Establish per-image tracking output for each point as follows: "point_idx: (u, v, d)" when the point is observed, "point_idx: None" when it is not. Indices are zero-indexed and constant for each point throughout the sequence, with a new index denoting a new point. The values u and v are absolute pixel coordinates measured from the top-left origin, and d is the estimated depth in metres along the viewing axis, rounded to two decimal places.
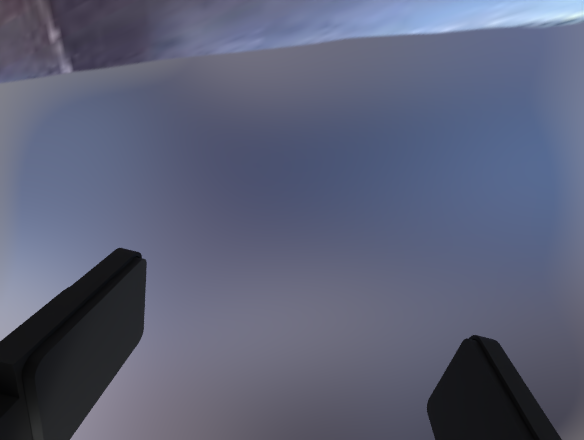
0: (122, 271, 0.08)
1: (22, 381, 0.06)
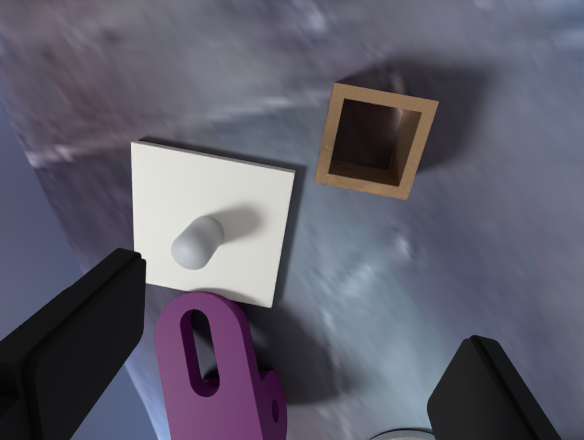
0: (122, 271, 0.08)
1: (22, 381, 0.06)
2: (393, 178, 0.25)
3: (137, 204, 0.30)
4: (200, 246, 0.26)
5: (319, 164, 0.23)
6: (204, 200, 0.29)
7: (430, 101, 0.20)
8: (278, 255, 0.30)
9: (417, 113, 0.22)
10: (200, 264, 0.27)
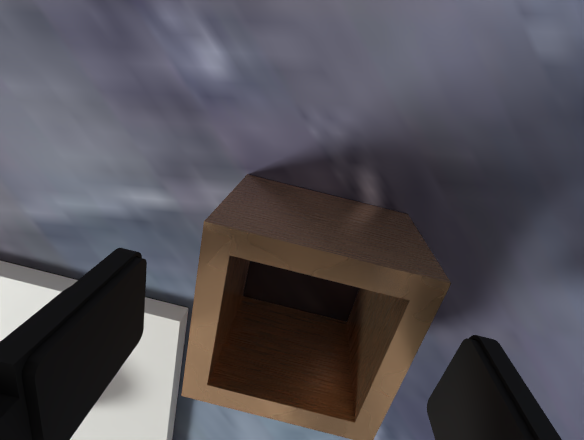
0: (122, 271, 0.08)
1: (22, 381, 0.06)
2: (350, 370, 0.13)
3: None
4: None
5: (187, 368, 0.11)
6: None
7: (430, 281, 0.09)
8: (164, 432, 0.18)
9: None
10: None
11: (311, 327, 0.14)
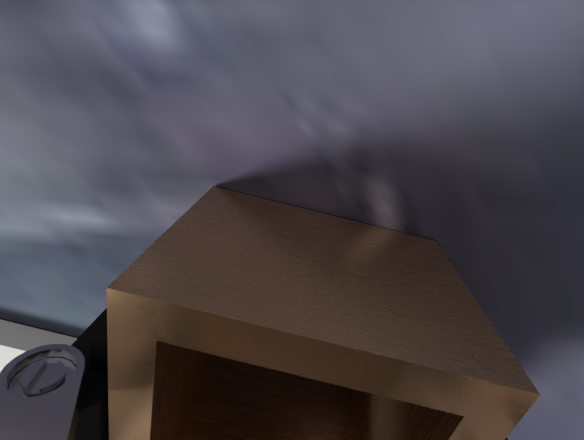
0: None
1: None
2: None
3: None
4: None
5: None
6: None
7: (503, 390, 0.05)
8: None
9: None
10: None
11: (304, 387, 0.11)
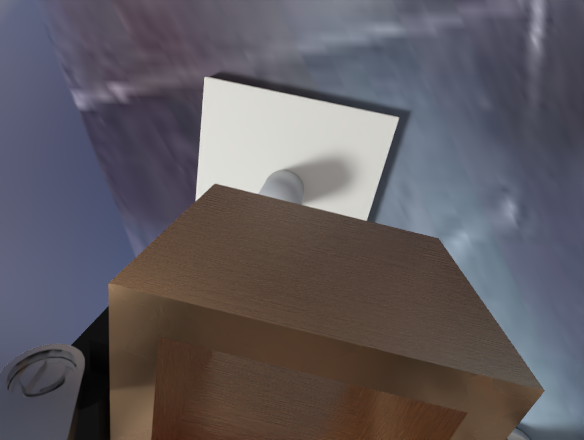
0: None
1: None
2: None
3: (204, 155, 0.25)
4: (290, 200, 0.22)
5: None
6: (285, 150, 0.25)
7: (508, 386, 0.05)
8: (365, 218, 0.26)
9: None
10: None
11: (305, 385, 0.11)
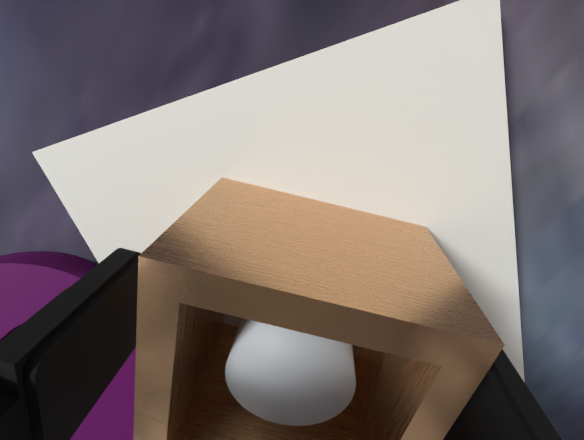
0: (122, 271, 0.08)
1: (23, 381, 0.06)
2: (354, 425, 0.10)
3: (281, 81, 0.09)
4: (327, 399, 0.08)
5: None
6: None
7: (474, 341, 0.06)
8: None
9: None
10: (266, 410, 0.08)
11: None
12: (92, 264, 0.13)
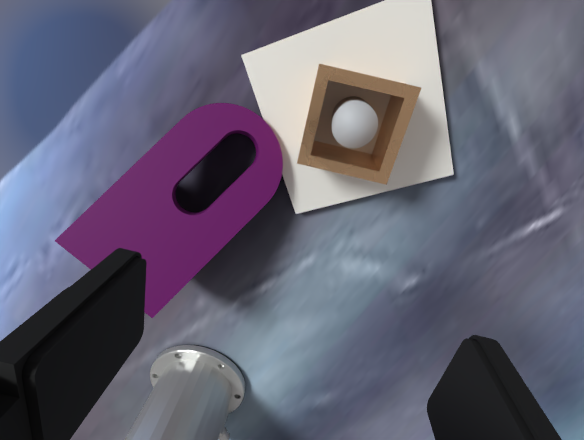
0: (122, 271, 0.08)
1: (22, 381, 0.06)
2: (375, 163, 0.25)
3: (349, 21, 0.24)
4: (367, 133, 0.23)
5: (302, 145, 0.23)
6: None
7: (413, 87, 0.21)
8: (359, 196, 0.29)
9: (400, 98, 0.22)
10: (345, 141, 0.23)
11: (353, 152, 0.27)
12: None
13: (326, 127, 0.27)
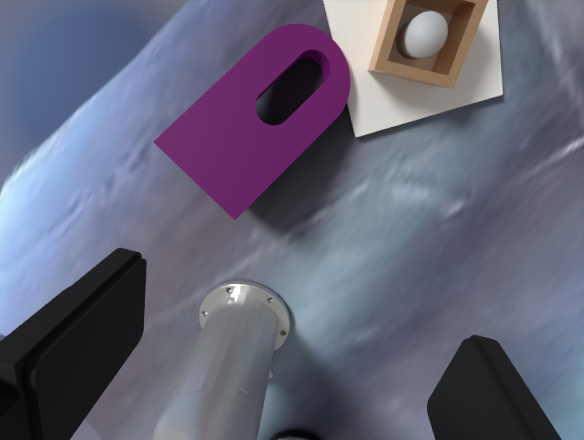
0: (122, 271, 0.08)
1: (22, 381, 0.06)
2: None
3: None
4: (437, 42, 0.26)
5: (381, 51, 0.26)
6: (449, 22, 0.29)
7: None
8: (415, 118, 0.32)
9: (469, 8, 0.25)
10: (416, 50, 0.27)
11: None
12: None
13: None
